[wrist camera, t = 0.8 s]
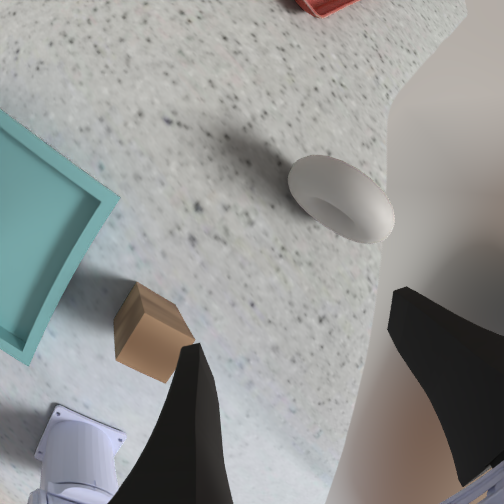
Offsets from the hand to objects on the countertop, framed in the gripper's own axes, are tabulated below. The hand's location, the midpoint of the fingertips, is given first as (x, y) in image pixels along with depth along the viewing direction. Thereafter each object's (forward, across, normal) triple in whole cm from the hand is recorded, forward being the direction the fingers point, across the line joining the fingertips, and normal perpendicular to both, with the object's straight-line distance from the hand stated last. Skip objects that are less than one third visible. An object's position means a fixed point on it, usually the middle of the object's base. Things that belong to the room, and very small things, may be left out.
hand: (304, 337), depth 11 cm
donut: (+20, -7, +4) cm, 22 cm away
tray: (+14, +20, -3) cm, 25 cm away
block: (+14, +10, +8) cm, 19 cm away
